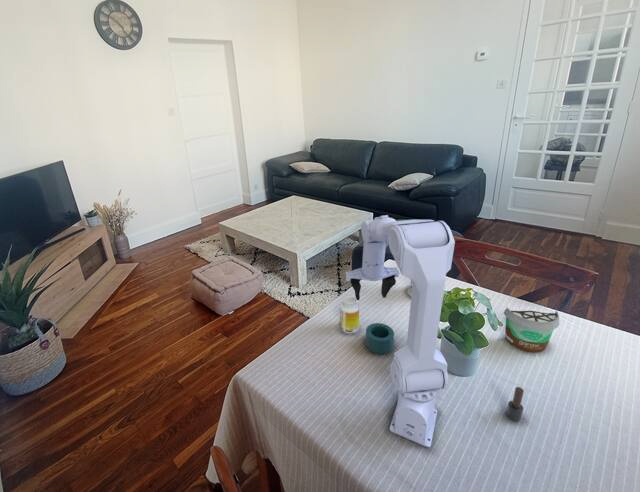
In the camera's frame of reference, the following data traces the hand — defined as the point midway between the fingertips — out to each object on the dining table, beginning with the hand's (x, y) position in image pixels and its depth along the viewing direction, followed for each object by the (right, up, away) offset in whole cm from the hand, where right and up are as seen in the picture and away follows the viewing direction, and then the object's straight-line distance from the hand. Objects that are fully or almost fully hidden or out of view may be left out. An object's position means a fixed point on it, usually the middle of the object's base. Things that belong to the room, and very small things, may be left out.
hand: (370, 296), depth 98 cm
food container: (+40, -12, -9) cm, 42 cm away
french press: (+22, +9, +12) cm, 26 cm away
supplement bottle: (-5, -11, +4) cm, 12 cm away
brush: (+23, -19, -27) cm, 40 cm away
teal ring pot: (+2, -13, -4) cm, 13 cm away
